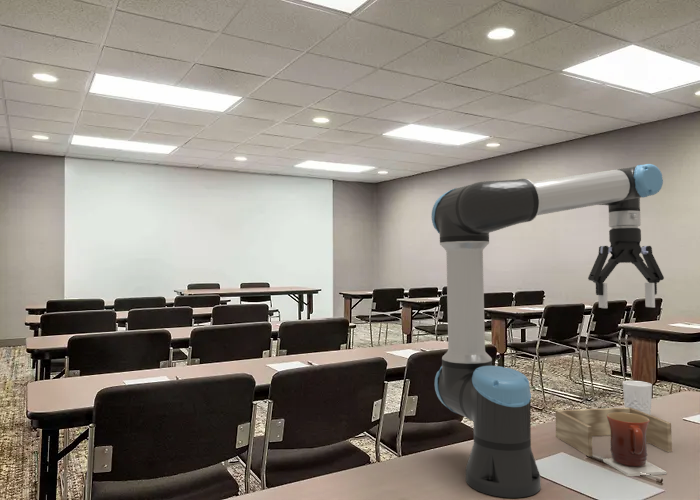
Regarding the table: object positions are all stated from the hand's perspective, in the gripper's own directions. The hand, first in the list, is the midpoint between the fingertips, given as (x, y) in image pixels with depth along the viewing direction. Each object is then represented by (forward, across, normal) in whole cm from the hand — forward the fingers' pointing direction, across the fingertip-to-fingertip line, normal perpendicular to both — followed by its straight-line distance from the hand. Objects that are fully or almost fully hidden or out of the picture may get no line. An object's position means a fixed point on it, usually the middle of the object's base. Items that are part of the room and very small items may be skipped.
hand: (626, 307), depth 138 cm
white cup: (+35, +17, +20) cm, 44 cm away
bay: (+35, -7, -2) cm, 35 cm away
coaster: (+35, -12, -18) cm, 41 cm away
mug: (+34, -13, -18) cm, 41 cm away
